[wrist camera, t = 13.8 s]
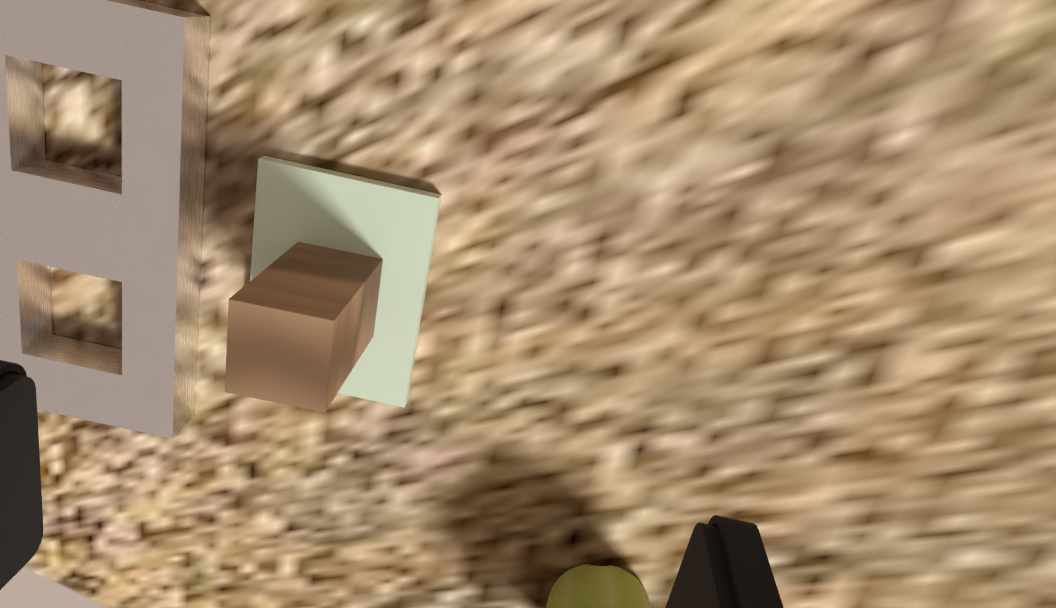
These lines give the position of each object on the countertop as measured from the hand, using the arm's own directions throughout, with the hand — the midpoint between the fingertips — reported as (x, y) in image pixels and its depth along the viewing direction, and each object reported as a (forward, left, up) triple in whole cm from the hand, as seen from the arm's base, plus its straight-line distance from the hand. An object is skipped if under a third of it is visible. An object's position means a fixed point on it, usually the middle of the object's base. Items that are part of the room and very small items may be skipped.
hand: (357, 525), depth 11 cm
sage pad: (+9, -8, -28) cm, 31 cm away
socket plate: (+8, -21, -28) cm, 36 cm away
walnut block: (+9, -8, -28) cm, 30 cm away
